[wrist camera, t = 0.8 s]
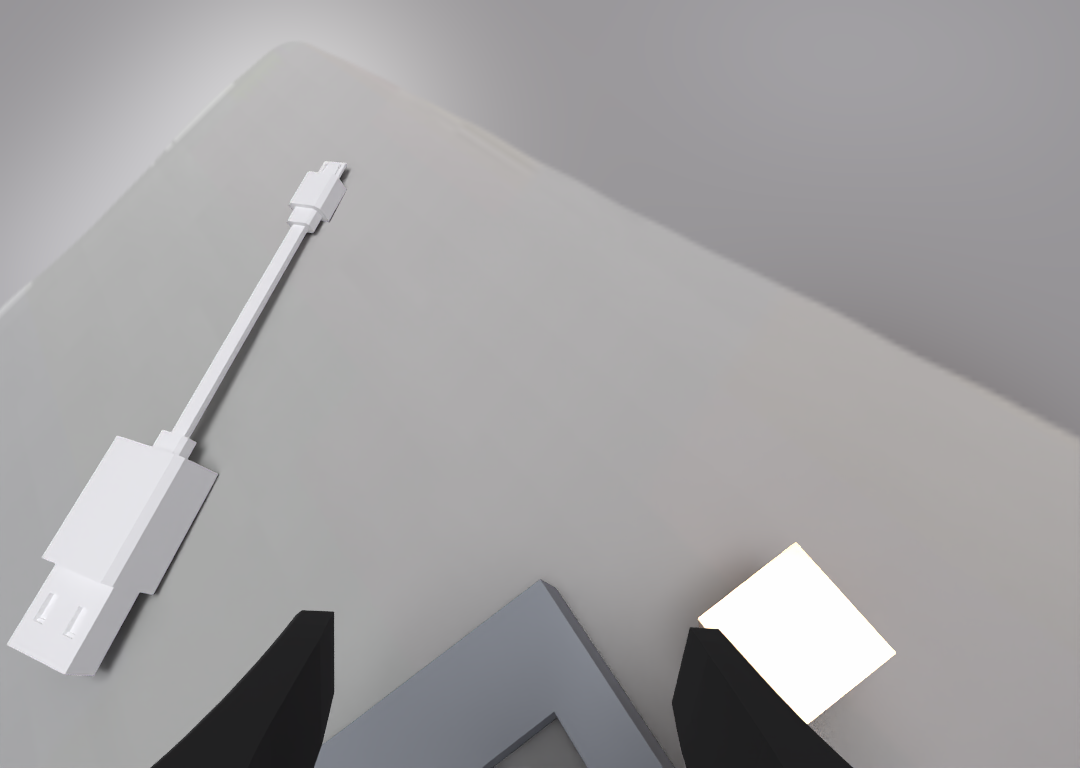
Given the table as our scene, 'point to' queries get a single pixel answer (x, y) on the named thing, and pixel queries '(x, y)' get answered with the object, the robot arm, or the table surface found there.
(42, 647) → the charging cable
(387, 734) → the board with square hole
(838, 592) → the brown wooden block
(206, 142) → the table surface
